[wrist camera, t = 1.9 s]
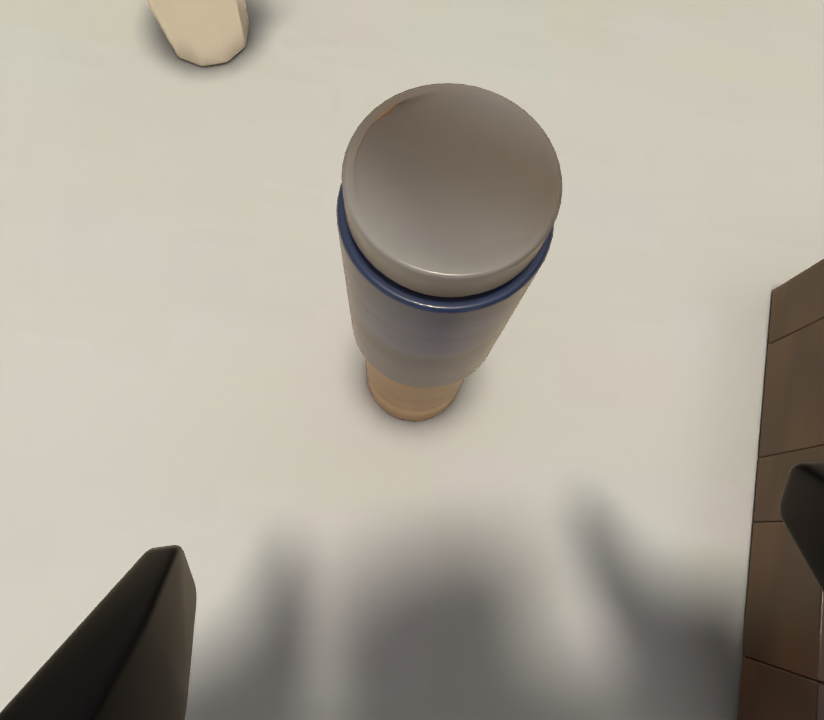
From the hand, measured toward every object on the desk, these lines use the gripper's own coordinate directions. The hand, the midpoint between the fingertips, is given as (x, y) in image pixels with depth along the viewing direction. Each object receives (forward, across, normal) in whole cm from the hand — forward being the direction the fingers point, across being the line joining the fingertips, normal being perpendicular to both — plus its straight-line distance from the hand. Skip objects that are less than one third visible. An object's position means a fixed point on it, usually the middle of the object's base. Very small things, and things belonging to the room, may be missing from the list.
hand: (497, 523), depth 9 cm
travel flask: (+12, 0, +5) cm, 13 cm away
